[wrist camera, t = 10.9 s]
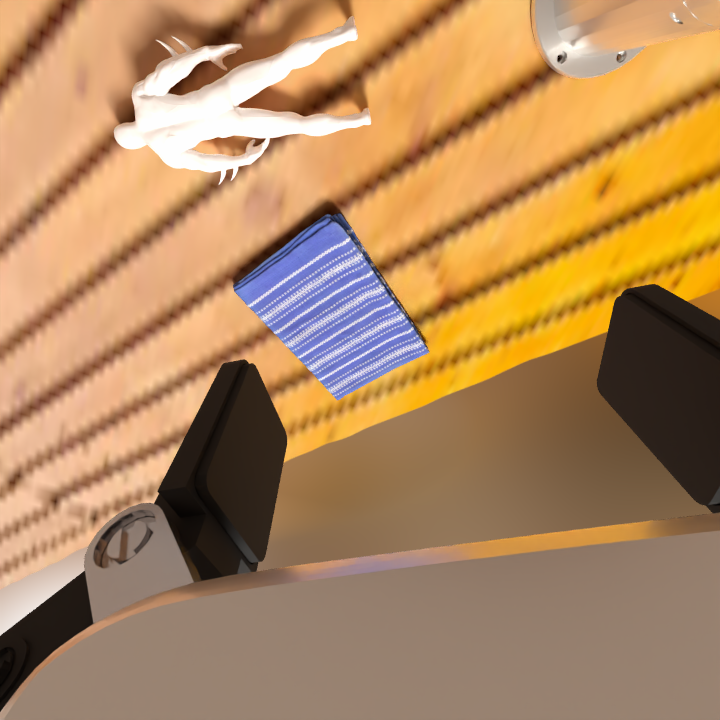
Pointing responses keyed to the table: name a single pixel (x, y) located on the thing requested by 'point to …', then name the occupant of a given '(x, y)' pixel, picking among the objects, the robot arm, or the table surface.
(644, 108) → the table surface
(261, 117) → the superhero figure
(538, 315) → the table surface
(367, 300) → the dish towel
